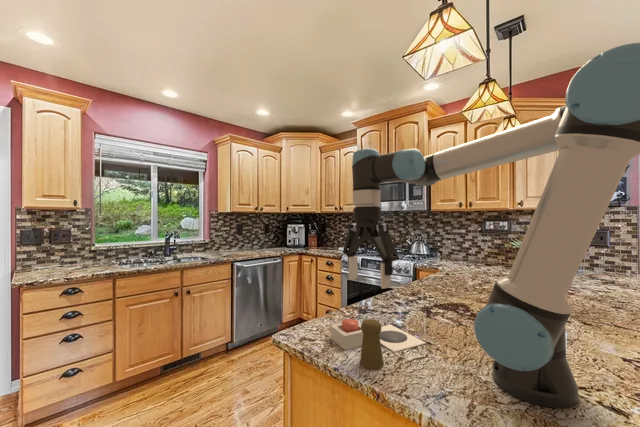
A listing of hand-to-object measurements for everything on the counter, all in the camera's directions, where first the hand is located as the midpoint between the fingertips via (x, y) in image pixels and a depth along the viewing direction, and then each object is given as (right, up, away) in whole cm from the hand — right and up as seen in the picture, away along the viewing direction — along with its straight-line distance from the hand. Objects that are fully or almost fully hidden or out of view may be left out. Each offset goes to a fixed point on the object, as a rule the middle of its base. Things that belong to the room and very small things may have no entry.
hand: (368, 283), depth 78 cm
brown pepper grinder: (0, -20, -5) cm, 20 cm away
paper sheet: (+9, -20, +10) cm, 24 cm away
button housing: (-4, -20, +9) cm, 22 cm away
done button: (-4, -17, +9) cm, 20 cm away
